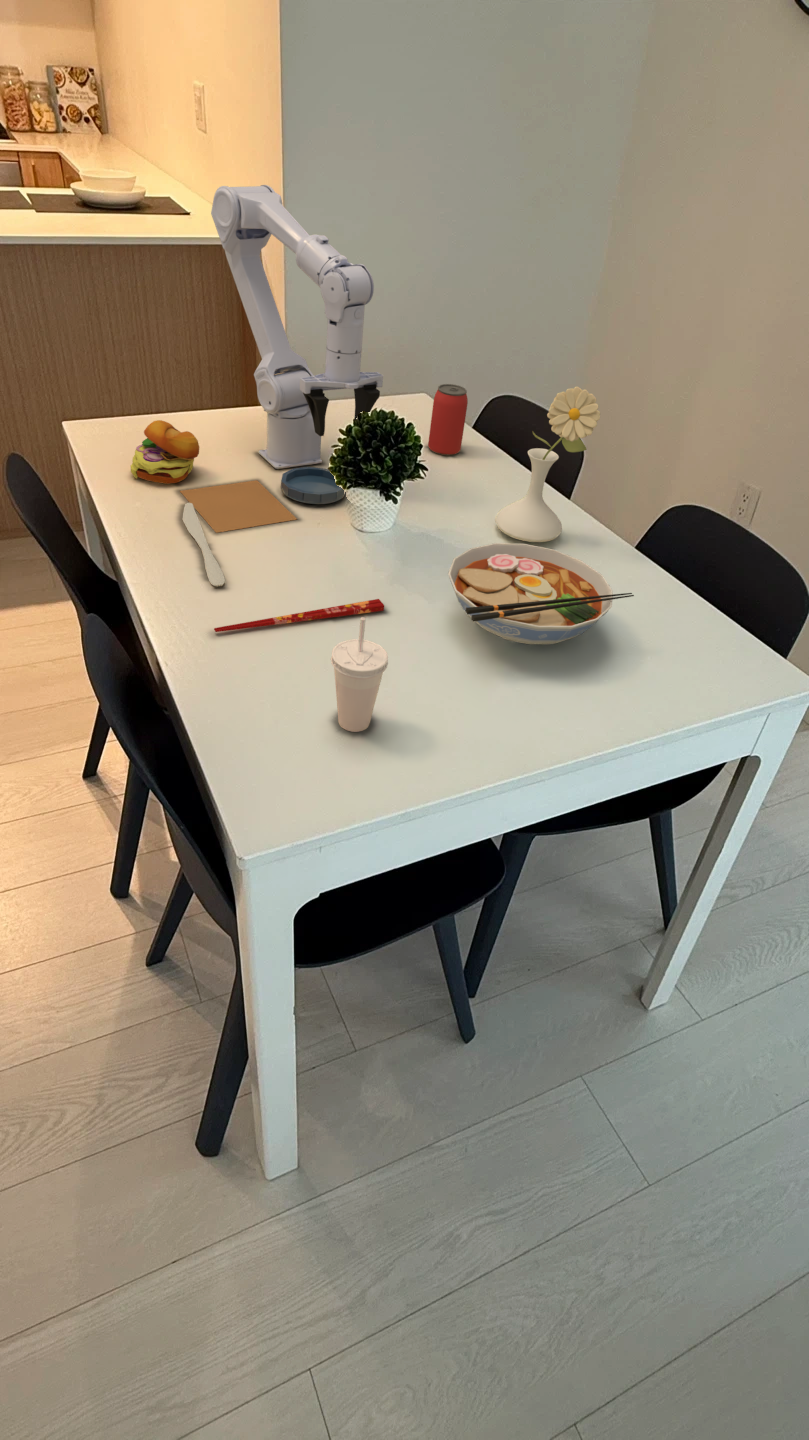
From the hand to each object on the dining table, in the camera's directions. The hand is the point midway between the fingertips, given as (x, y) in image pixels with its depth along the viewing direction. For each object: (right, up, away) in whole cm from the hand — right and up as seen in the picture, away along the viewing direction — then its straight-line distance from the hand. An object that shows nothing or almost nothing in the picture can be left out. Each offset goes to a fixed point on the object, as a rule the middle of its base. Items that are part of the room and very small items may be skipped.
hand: (339, 431), depth 148 cm
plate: (-5, -10, +2) cm, 11 cm away
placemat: (-17, -14, -4) cm, 22 cm away
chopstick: (-3, -36, -30) cm, 47 cm away
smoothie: (+5, -50, -46) cm, 68 cm away
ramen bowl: (+28, -36, -25) cm, 52 cm away
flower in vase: (+33, -18, -1) cm, 37 cm away
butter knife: (-20, -22, -16) cm, 34 cm away
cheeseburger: (-30, -7, +2) cm, 31 cm away
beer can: (+19, +4, +24) cm, 31 cm away
